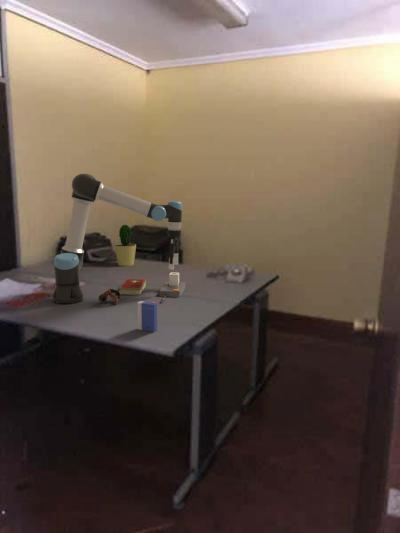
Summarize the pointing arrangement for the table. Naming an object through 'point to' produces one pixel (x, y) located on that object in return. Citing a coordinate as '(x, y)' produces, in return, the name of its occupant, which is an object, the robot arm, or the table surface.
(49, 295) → the table surface
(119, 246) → the potted cactus
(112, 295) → the brown arched piece
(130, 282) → the hardcover book
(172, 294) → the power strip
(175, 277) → the charger brick
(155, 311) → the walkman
